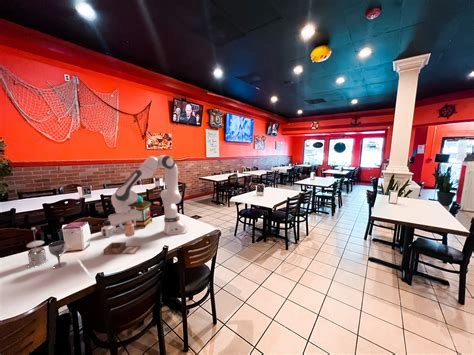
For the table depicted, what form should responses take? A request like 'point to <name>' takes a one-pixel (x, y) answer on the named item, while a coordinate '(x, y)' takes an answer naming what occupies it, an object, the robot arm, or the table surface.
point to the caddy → (120, 249)
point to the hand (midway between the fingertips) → (129, 227)
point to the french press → (39, 256)
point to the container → (108, 229)
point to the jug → (129, 228)
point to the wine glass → (57, 252)
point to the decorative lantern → (142, 211)
